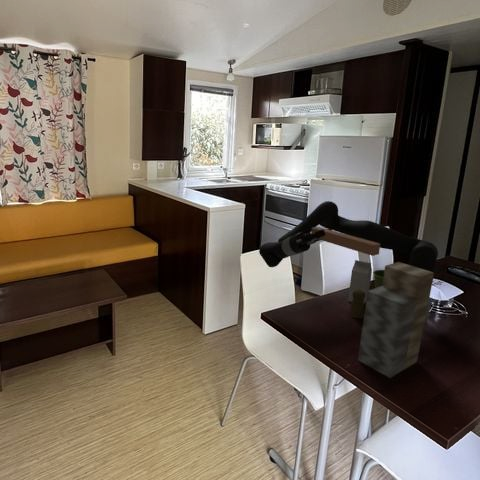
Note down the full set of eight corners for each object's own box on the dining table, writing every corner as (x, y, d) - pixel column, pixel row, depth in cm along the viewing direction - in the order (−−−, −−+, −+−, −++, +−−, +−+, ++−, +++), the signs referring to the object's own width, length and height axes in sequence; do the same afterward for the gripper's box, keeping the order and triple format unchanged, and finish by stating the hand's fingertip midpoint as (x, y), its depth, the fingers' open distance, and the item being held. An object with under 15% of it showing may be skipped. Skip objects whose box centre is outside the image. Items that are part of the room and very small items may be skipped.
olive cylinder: (364, 319, 158) (367, 294, 155) (349, 317, 159) (352, 292, 156) (362, 312, 163) (366, 288, 160) (348, 311, 164) (351, 287, 162)
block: (311, 237, 141) (311, 227, 140) (317, 235, 143) (318, 226, 142) (372, 255, 121) (373, 245, 120) (378, 254, 123) (380, 243, 122)
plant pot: (374, 289, 190) (377, 267, 187) (399, 295, 184) (402, 273, 181) (366, 296, 181) (369, 274, 178) (392, 303, 174) (396, 280, 171)
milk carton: (363, 305, 171) (369, 265, 166) (347, 301, 174) (352, 262, 169) (367, 300, 176) (373, 261, 171) (352, 296, 180) (357, 258, 175)
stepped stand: (357, 360, 128) (370, 270, 119) (384, 346, 137) (398, 261, 129) (390, 378, 119) (406, 282, 110) (416, 362, 128) (433, 272, 120)
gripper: (280, 237, 146) (311, 223, 133) (305, 233, 155) (337, 219, 141) (285, 256, 145) (317, 244, 131) (310, 251, 153) (343, 239, 140)
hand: (327, 231), depth 136 cm, fingers closed on block, 3 cm apart
